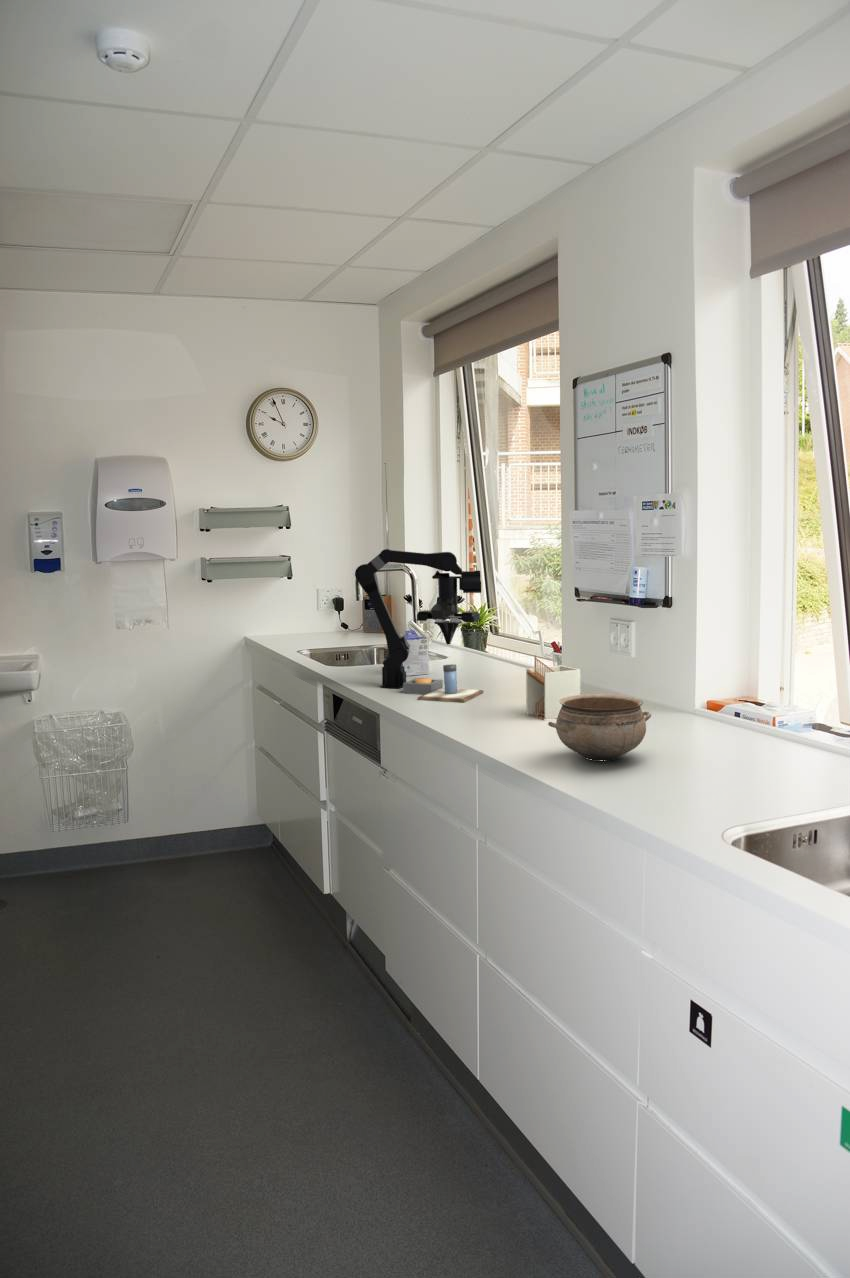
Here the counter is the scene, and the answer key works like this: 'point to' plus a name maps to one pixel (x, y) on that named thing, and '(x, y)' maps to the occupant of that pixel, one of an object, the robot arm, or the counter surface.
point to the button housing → (421, 687)
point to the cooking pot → (601, 725)
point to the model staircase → (549, 688)
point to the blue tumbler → (450, 679)
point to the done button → (423, 680)
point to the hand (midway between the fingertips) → (448, 644)
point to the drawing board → (451, 695)
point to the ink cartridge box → (416, 655)
